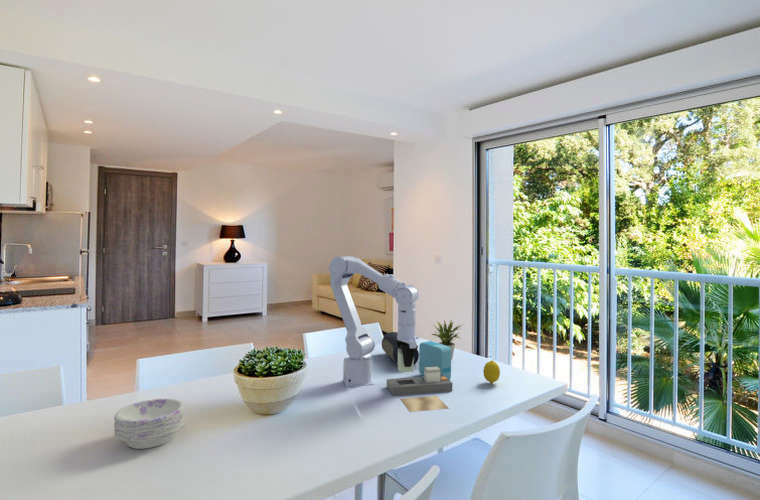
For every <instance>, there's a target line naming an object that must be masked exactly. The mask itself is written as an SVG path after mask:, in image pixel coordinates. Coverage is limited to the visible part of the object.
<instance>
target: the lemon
mask: <svg viewBox="0 0 760 500" xmlns="http://www.w3.org/2000/svg"><path fill="white" fill-rule="evenodd" d="M500 375H501V370H500V366H499V365H498V363H497V362H495V361H494V360H492V359H491V360H490V361H486V363H484V366H483V377H484V379H485V380H486V381H487V382H489V383H490V384H494V383H495V382H497V381H498V380H499V378H500Z"/></svg>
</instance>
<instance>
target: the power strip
mask: <svg viewBox="0 0 760 500" xmlns="http://www.w3.org/2000/svg"><path fill="white" fill-rule="evenodd" d="M386 388H387V390H388V391H389V393H390V394H391V395H392V396H393V397H395V396H407V395H420V394H433V393H444V392H446V393H447V392H453V382H452V381H451V379H450V380H448V379H447V378H446V377H445V376H444V375H440V382H430V383H426V382H425V381H424V376H416V377H415V376H414V377H413V376H412V377H400V378H399V377H397V378H387V379H386Z"/></svg>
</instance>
